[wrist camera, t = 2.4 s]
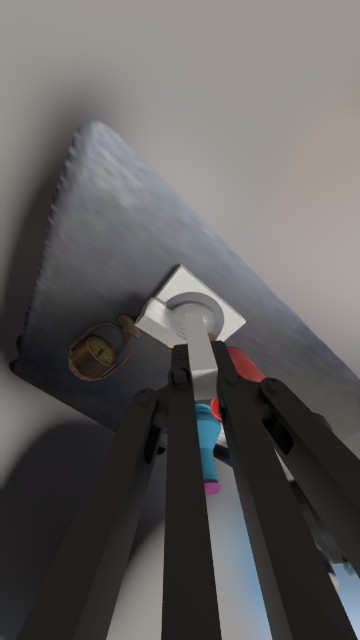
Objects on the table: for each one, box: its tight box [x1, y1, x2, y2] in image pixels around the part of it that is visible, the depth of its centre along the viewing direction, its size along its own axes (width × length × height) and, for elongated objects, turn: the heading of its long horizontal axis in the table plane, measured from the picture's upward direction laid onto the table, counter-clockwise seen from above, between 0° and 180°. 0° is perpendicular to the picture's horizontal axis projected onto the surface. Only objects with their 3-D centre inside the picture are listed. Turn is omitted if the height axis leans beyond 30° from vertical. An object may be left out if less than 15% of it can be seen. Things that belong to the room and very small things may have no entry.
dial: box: [136, 297, 220, 348], centre depth 22 cm, size 12×8×7 cm
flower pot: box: [209, 347, 266, 421], centre depth 29 cm, size 11×11×10 cm
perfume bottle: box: [195, 404, 221, 495], centre depth 36 cm, size 9×9×15 cm
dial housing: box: [135, 264, 246, 348], centre depth 27 cm, size 14×12×2 cm
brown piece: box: [68, 315, 142, 381], centre depth 27 cm, size 7×13×10 cm
